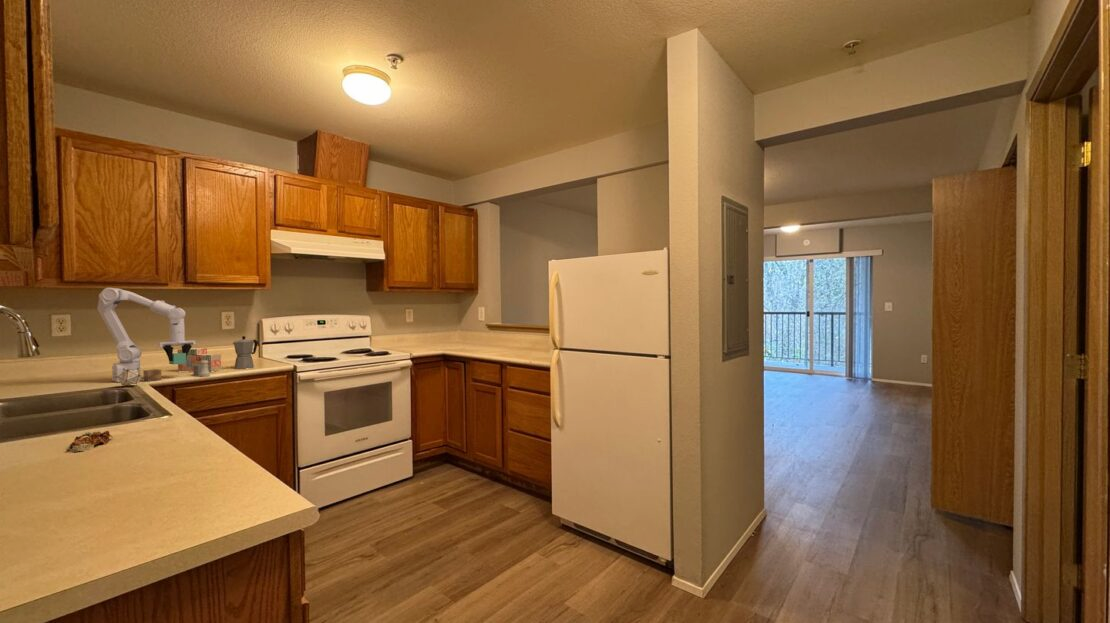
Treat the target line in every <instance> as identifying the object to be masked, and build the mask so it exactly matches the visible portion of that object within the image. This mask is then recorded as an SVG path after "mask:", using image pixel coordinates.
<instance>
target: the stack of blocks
mask: <svg viewBox="0 0 1110 623" xmlns="http://www.w3.org/2000/svg"><path fill="white" fill-rule="evenodd" d="M207 350H208V348H207V347H201V348H200V347H196V348H195V347H193V348H192V347H191V349H190V350H189V352H188V355H187V358H186V364H177V372H178V371H193V366H194V365H202V364H201V363H200V362H201V361H202V360H203V361H204V360H205V361H206V360H208V364H207V365H209V366H210V373H213V372H212V371H216V372H220V371H219V370H221V371H222V361H221V360H222V354H221V353H208V351H207ZM176 353H182V348H179V349H178V348H177V351H176Z"/></svg>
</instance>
